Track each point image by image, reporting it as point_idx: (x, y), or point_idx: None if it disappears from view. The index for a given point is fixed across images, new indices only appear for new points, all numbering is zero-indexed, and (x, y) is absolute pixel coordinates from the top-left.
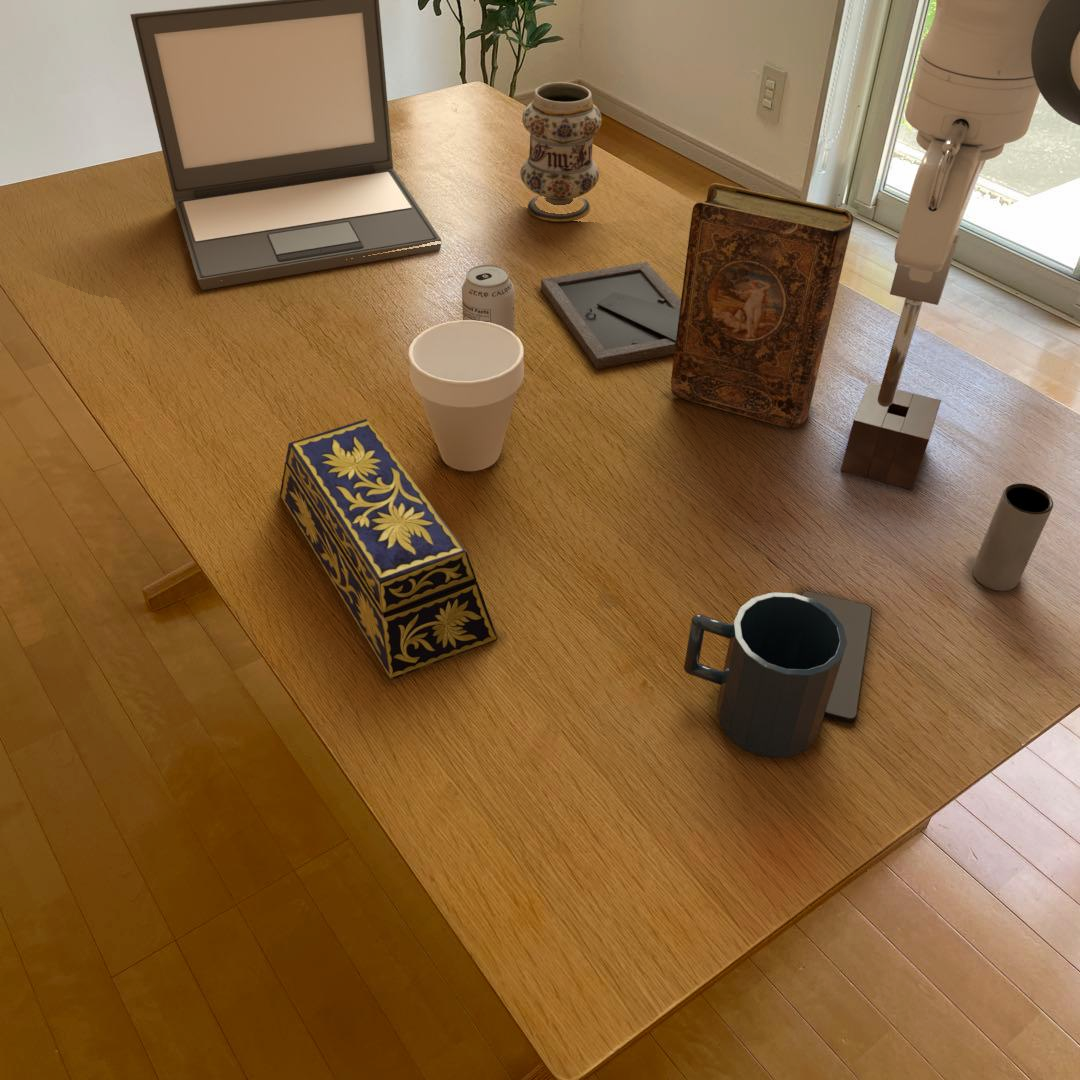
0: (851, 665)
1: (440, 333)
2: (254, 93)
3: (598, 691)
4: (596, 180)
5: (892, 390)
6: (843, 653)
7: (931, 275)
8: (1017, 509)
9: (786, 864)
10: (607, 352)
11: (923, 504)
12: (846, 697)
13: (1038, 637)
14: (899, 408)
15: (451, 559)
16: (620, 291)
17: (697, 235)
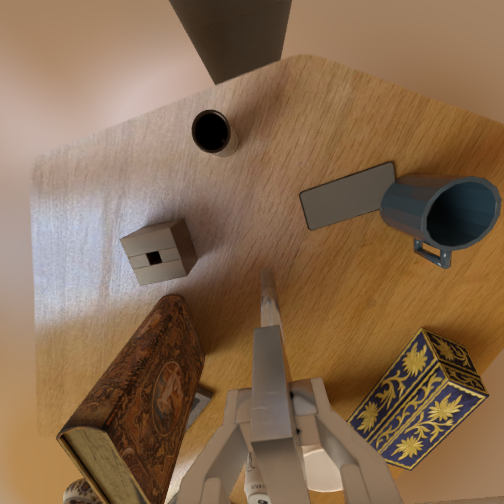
0: (352, 182)
1: (313, 483)
2: None
3: (430, 276)
4: (76, 484)
5: (273, 276)
6: (466, 177)
7: (324, 387)
8: (230, 134)
9: (499, 148)
10: (202, 398)
11: (191, 206)
12: (378, 173)
13: (260, 93)
14: (149, 258)
15: (455, 381)
16: None
17: (168, 475)
